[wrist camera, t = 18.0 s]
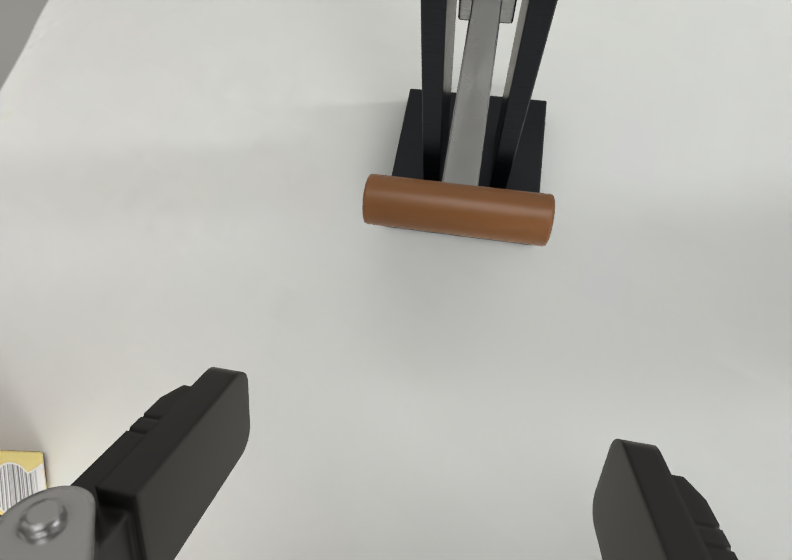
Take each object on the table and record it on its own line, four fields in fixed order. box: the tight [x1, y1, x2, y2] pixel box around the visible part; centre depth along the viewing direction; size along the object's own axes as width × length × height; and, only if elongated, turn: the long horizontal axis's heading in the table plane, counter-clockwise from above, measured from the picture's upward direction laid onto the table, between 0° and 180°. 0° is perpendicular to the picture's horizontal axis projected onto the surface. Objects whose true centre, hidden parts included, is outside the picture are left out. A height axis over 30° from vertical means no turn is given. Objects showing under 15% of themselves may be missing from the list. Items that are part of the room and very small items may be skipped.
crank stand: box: [392, 0, 558, 193], centre depth 24 cm, size 10×9×15 cm
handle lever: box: [363, 0, 555, 246], centre depth 17 cm, size 13×6×2 cm, turn 170°
